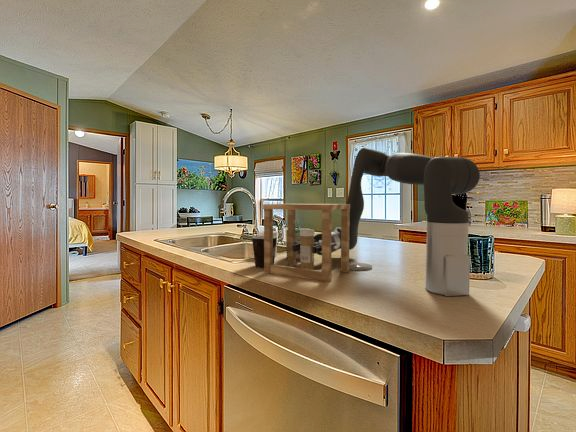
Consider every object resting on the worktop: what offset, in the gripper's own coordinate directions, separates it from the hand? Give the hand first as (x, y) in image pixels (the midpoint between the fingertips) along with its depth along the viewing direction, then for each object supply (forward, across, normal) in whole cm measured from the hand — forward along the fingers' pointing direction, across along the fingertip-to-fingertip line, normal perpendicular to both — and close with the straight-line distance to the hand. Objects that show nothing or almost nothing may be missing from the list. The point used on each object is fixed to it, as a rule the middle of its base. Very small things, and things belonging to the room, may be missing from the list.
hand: (303, 249), depth 99 cm
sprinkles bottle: (-2, 0, +8) cm, 8 cm away
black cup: (-19, -27, +8) cm, 34 cm away
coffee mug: (-1, -17, +8) cm, 19 cm away
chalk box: (-22, -14, +8) cm, 27 cm away
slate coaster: (-17, +11, +8) cm, 22 cm away
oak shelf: (-2, 0, +8) cm, 8 cm away
